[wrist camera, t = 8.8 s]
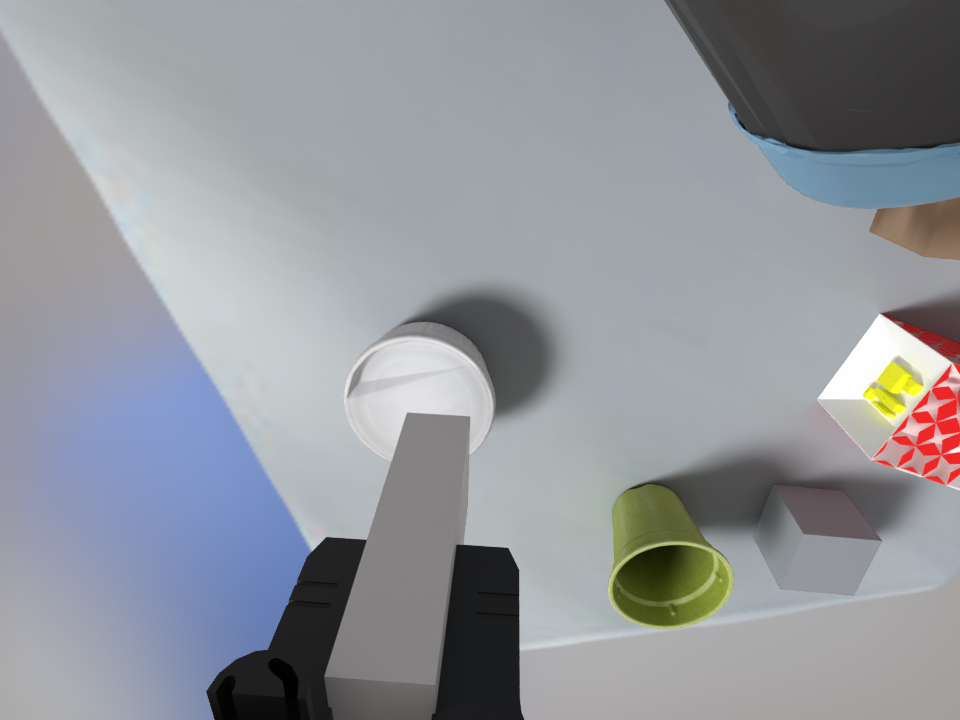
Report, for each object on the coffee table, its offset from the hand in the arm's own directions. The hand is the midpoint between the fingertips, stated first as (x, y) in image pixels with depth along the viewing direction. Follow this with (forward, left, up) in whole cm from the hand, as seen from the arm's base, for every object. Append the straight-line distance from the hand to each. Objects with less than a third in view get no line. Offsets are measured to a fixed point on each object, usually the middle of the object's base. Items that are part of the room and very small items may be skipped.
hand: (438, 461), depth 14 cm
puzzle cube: (+11, +32, -30) cm, 45 cm away
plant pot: (+26, +16, -30) cm, 42 cm away
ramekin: (+14, -4, -30) cm, 33 cm away
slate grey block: (+25, +29, -29) cm, 48 cm away
